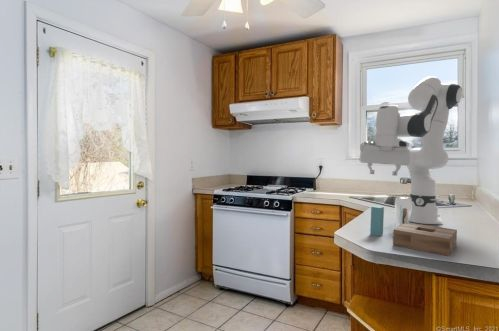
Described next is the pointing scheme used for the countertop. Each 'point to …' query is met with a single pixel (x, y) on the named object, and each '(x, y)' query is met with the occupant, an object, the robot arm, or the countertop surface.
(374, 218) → the peg
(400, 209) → the beer glass
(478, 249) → the countertop surface
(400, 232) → the socket block
